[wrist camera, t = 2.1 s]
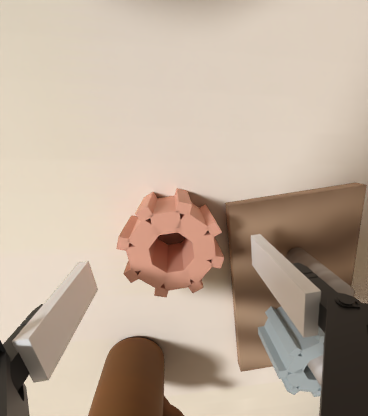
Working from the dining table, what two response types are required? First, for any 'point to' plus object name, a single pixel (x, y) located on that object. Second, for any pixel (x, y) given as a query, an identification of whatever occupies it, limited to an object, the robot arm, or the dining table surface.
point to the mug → (133, 382)
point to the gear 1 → (174, 253)
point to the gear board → (283, 232)
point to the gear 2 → (291, 351)
